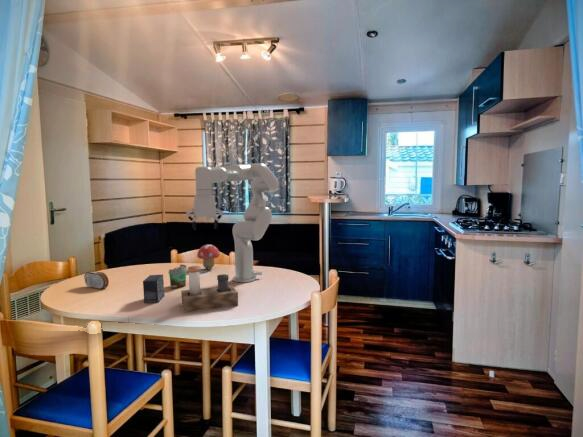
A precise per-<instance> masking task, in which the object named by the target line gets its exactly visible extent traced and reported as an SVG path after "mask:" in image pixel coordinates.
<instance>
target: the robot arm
mask: <svg viewBox="0 0 583 437" xmlns="http://www.w3.org/2000/svg"><path fill="white" fill-rule="evenodd" d="M194 173H195V174H194V176H195V177H194V178H195V196H193V208H192V209H190V210H188V211H186V212H185V215H186V216H187V218H188V220H190V221H191V224H192V230H194V231H197V221H196V220H197V219H198V218H199V219H201V218H202V219H203V218H213V219H214V222H213V227H214V229H215V230H217V229H218V228H219V220H220V219H221V218H222V216H223V214H224V210H221V209H219V208H217V207H216V206H217V205H216V200H215V199H216V198H215V196H214V194H216V190H213V183H216V184H217V183H223V182H241V181H249V180H251V182H250V188H251V194H252V198H251V200H250V202H249V204H248V206H246V207H247V208H246V209H245V210H244V213H243V219H244V220H245V221H243V220H241V221H237V222H236V223H234V224H233V226H232V231H231V232H232V236H233V241H234V265H235V266H234V267H235V268H234V269H235V270H234V271H235V272H234V273H235V276H233V277H232V280H233V281H234V282H236V283H250V282H255V280H257V276H262V274H263V273H262V272H263V271H259V270H258V271H257V270H256V271H255V270H254V250H253V249H254V248H253V244H252V242H251V241H259V240H261V239H262V238H263V236H264V235H265V233H266V231H267V230H268V228H269V227H270V226H269V225H270V223H271V221H272V219H273V213H272V211H271V209H270V208H269V207H268V206H267V198H266V194H265V193H274V192H276V191H277V190H278V189H279V186H280V183H279V180H278V178H277V177H276V175H275V174H274V173H273V172H272V170H271V169H270V168H269V167H268V166H267V165H266V164H265V163H262V162H259V163H258V162H257V163H241V164H239V163H238V164H237V163H236V164H229V165H228V164H227V165H224V166H223V165H222V166H198V167H197V166H196V168H195V172H194ZM191 213H193V217H192V216H191V215H190V214H191ZM217 213H219V214H218V215H217Z"/></svg>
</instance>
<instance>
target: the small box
mask: <svg viewBox="0 0 583 437" xmlns="http://www.w3.org/2000/svg"><path fill="white" fill-rule="evenodd" d="M142 286H143V287H142V290H143V303H144V304H158V303H160V302H161V301H162V300H163V298H164V297H165V287H164V286H165V284H164V274H151V275H149V276H147V277H146V278H145V279H144V280H143V281H142Z"/></svg>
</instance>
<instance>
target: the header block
mask: <svg viewBox="0 0 583 437" xmlns="http://www.w3.org/2000/svg"><path fill="white" fill-rule="evenodd" d="M181 305H182V309H183V313H193V312H200V311H201V312H202V311H208V310H215V309H223V308H231V307H237V306H239V291H237V290H236V289H235V287H234V286H233V285H229V284H228V291H225V292H218V286H212V287H204V288H203V287H202V288H200V294H199V295H191V296H190V295H189V289H186V290H181Z"/></svg>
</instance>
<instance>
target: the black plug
mask: <svg viewBox="0 0 583 437" xmlns="http://www.w3.org/2000/svg"><path fill="white" fill-rule="evenodd" d="M216 277H217V279H216V280H217V287H218V292H225V291H228V286H229V278H230V277H229V274H226V273H222V274H218V275H216Z"/></svg>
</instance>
